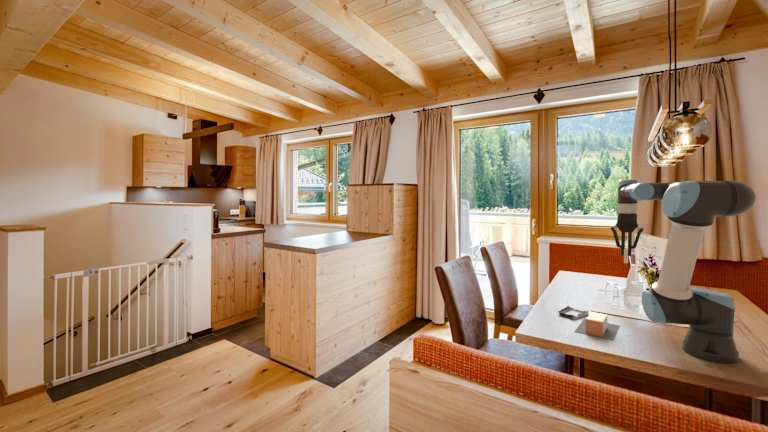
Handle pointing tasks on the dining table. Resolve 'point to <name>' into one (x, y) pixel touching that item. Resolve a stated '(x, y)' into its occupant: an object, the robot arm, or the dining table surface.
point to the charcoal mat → (608, 334)
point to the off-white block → (596, 324)
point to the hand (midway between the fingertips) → (625, 262)
